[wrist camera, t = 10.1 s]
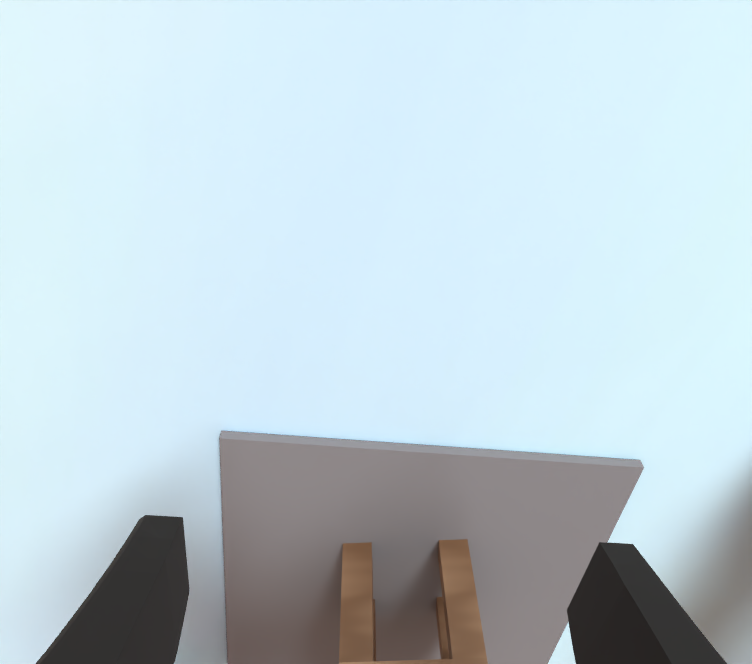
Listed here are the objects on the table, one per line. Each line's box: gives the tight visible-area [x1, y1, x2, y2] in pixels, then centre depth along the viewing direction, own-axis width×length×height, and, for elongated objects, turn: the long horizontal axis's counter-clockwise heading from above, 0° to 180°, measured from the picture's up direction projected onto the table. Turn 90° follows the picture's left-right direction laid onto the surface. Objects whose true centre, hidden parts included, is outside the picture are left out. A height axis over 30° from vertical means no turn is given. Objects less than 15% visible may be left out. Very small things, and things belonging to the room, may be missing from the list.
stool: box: [339, 539, 488, 664], centre depth 25 cm, size 5×5×7 cm
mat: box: [219, 431, 644, 664], centre depth 28 cm, size 16×16×1 cm
